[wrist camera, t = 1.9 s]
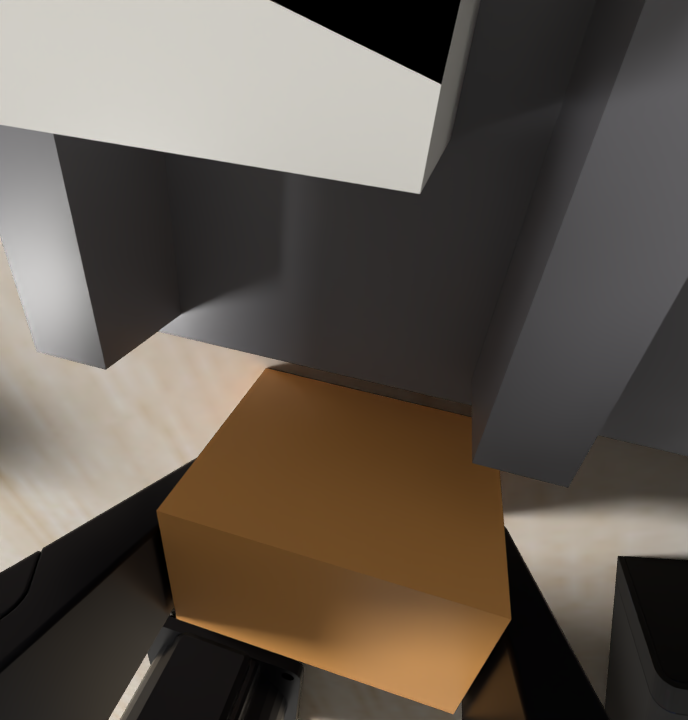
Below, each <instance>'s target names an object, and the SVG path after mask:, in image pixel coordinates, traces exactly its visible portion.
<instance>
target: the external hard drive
mask: <svg viewBox="0 0 688 720" xmlns="http://www.w3.org/2000/svg"><path fill="white" fill-rule="evenodd" d="M605 711H606V713H607V714H608V716H609V718H610V720H688V560H675V559H658V558H642V557H623V556H618V561H617V573H616V584H615V596H614V608H613V619H612V631H611V643H610V654H609V666H608V677H607V689H606V701H605Z"/></svg>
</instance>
